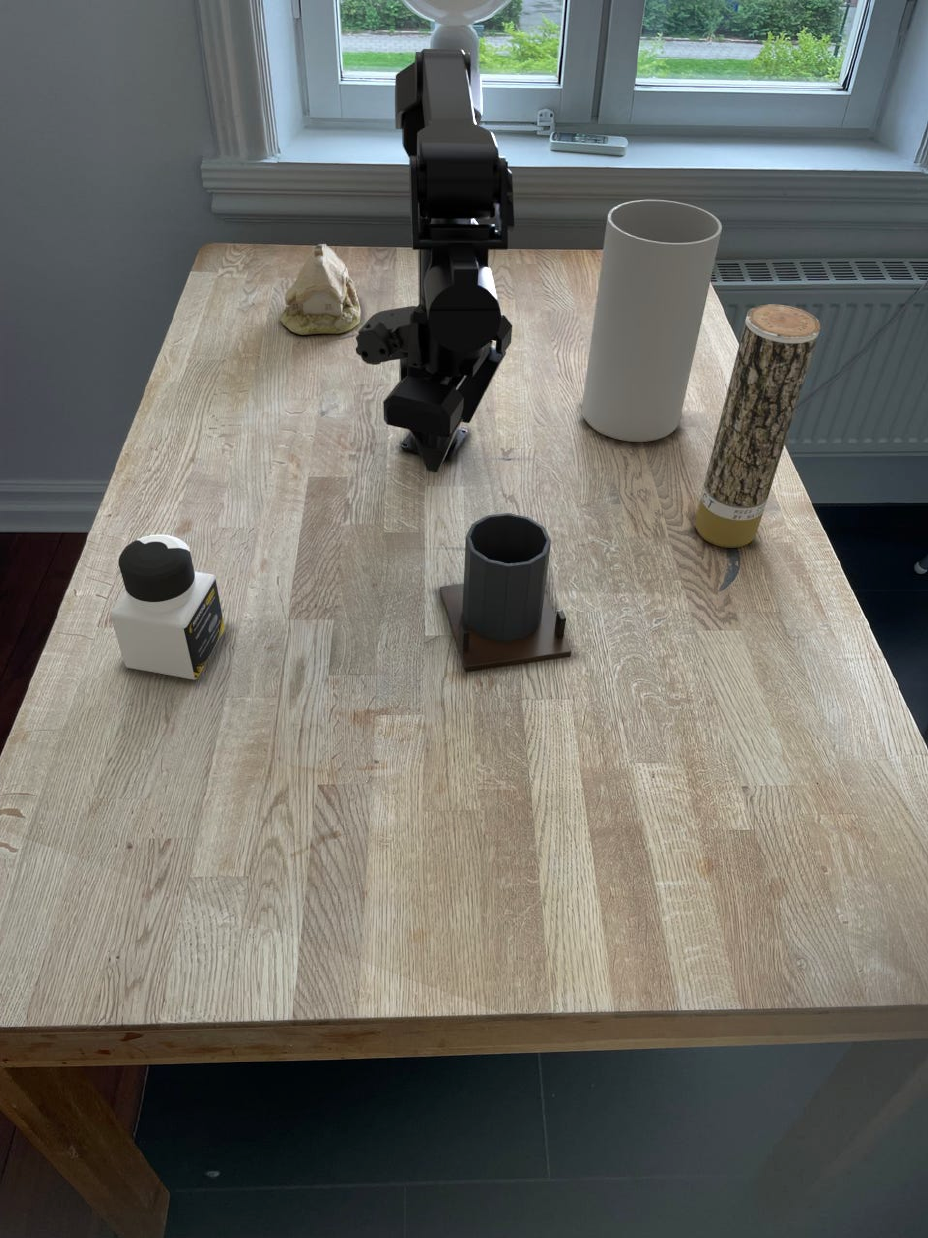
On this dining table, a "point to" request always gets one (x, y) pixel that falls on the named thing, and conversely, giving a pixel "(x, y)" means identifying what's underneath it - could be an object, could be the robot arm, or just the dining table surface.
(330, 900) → the dining table surface
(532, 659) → the brown pegged stand
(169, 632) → the medicine bottle
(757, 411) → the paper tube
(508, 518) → the bin
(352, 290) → the ceramic model
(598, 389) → the cylinder vase
